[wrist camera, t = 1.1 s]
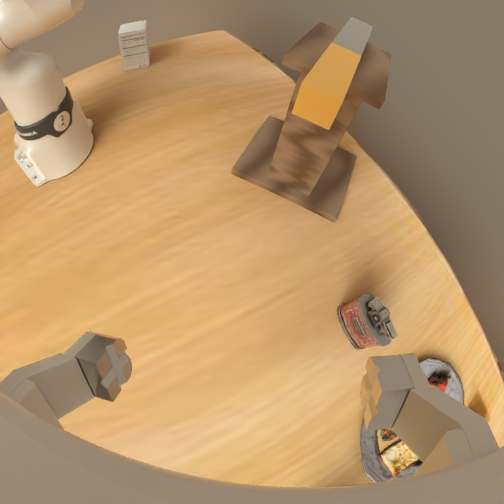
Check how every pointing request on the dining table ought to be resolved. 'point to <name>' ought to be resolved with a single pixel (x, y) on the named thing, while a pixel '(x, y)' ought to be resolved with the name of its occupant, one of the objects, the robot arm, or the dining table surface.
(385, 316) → the lighter
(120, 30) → the supplement box
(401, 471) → the food plate
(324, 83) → the gray and orange bar
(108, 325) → the dining table surface
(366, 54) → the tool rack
